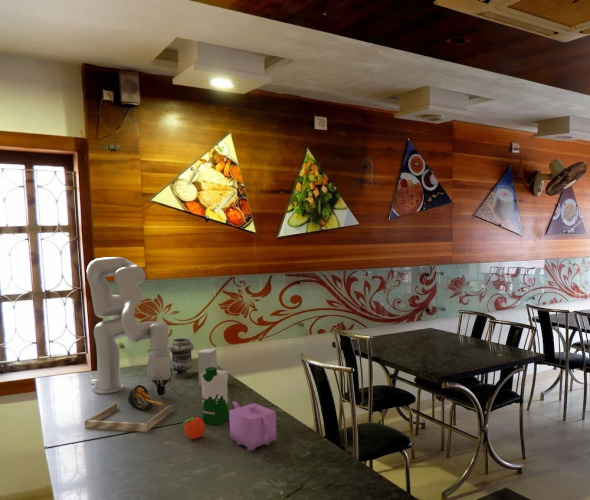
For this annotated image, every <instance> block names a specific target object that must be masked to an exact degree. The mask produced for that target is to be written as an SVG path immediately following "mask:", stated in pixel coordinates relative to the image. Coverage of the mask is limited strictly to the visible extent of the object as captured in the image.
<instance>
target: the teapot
mask: <svg viewBox="0 0 590 500" xmlns="http://www.w3.org/2000/svg"><path fill="white" fill-rule="evenodd" d="M231 403H232V404H233V406H234V408H233V409H230V410H228V414H229V438H230V439H232V440H233V441H236V444H235V445H238V446H245V447H246V450H247V451H248V452H253V451H255V450H256V448H258V447H261V446H269V445H270V444H271V443H272V442H274V441H276V440H277V411H275V410H272V409H270V408H268V407H266V406H262V405H260V404H258V403H255V402H253V403H249V404H246V405H243V406H240V404H239V403H238V402H237V401H231Z"/></svg>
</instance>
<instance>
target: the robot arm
mask: <svg viewBox="0 0 590 500" xmlns="http://www.w3.org/2000/svg"><path fill="white" fill-rule="evenodd" d="M112 276H113V279H114V282H115V285H116V287H117V289H118V290H117V291H118V292H119V294H113V293H112V287H111V284H110V282H109V281H108V279H106V277H112ZM86 279H87V282H88V285H89V287H90V288H89V289H90V295H91V300H92V306H93V312H94V315H95V316H96V317H98V318H100V319H101V318H109V317H113V318H110V319H106V320H102V321H100V322H98V323H97V324H96V325H94V328H93V337H94V341H95V346H96V347H95V348H96V361H97V363H96V364H97V366H96V367H97V368H96V369H97V379H92V380H91V382H90V385H91V386H95V388H94V389H93V390H94V392H95V393H96V394H101V395H103V394H104V395H106V394H112V393H117V392H121V391H122V390H123V389H125V385H124V384H123V383H121V365H120V363H121V362H120V348H119V346H118V344H117V342H116V340H119V339H122V338H126V337H127V338H128V339H129V341H131V342H133V343H138V342H139V343H140V342H142V341H145V340H149V342H150V343H149V344H150V345H149V346H150V348H149V349H147V353H150V355H149V356H148V360H147V367H146V370H147V371H146V377H147V379H148V381H149V382H152V383H153V384H154V385H155V387H156V393H157V396H158V397H159V396H161V397H162V396H164V395H165V393H166V385H167V384H168V383H171V382H173V381H174V378H173V377H172V376H173V374H174V370H173V366H172V355H171V354H170V350H169V347H170V344H169V343H170V342H169V325H168V324H167V323H166V322H156V321H151V320H149V321H148V320H147V321H143V322H139V323H137V320H136V317H135V310H136V307H137V305H139V303H141V302H142V301H143V300H144V295H143V293H142V291H141V288H140V286H139V285H141V284H142V283H144V282H145V280H146V273H145V271H144V269H143V268H142V267H141V266H140V265H138V264H136V263H134V262H132V261H130V260H129V259H127V258H125V257H121V256H116V257H114V256H111V257H100V258H99V257H98V258H95V259H94V260H91V261H90V262H89V263H88V265H87V268H86Z"/></svg>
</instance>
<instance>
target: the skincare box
mask: <svg viewBox="0 0 590 500" xmlns="http://www.w3.org/2000/svg"><path fill="white" fill-rule="evenodd" d="M217 355H218V354H217V348H204V349H202V350H200V351H198V352H197V359H198V361H197V362H198V382H199V383H198V384H199V385H198V386H199V387H200V386H201V387H202V383H201V378H200V374H202V373H204V372H206V368H209V367H215V368H217V369H218V357H217Z"/></svg>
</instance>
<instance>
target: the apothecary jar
mask: <svg viewBox="0 0 590 500" xmlns="http://www.w3.org/2000/svg"><path fill="white" fill-rule="evenodd" d="M193 350H194V344H193V343H192V342H191V339H190V338H188V337H179V338H174V339H173V340H172V344H169V352H171V359H172V366H173V376H172V378H173V379H185V378H188V377H189V378H190V377H191V376H193V373H192V372H190V371H189V370H191V369H192V368H193V367H194V366H195V361H194V360H193V358H192V351H193ZM174 371H175V373H174Z"/></svg>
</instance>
